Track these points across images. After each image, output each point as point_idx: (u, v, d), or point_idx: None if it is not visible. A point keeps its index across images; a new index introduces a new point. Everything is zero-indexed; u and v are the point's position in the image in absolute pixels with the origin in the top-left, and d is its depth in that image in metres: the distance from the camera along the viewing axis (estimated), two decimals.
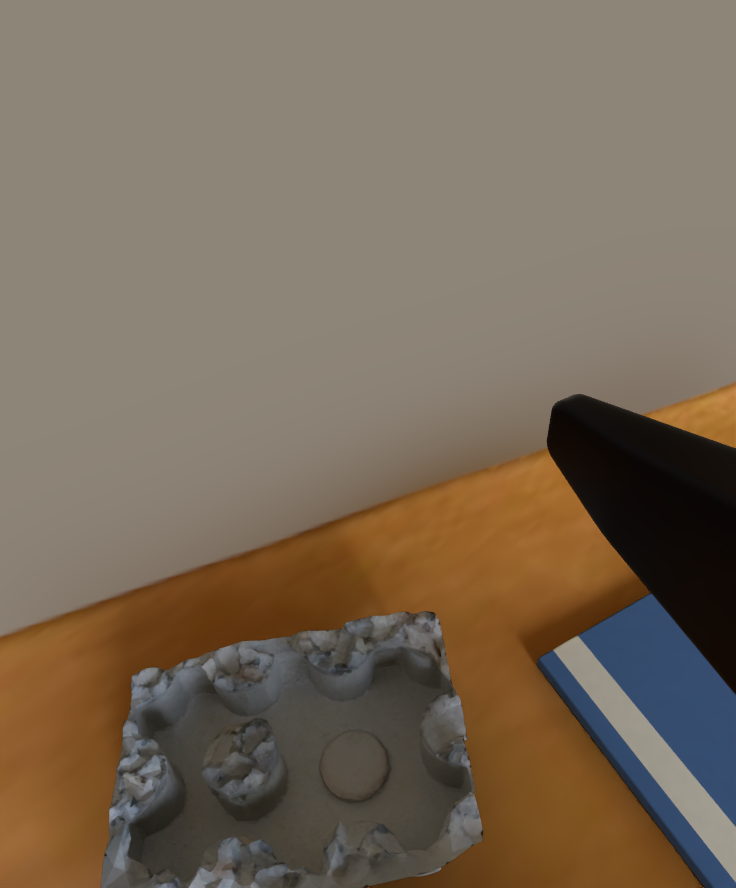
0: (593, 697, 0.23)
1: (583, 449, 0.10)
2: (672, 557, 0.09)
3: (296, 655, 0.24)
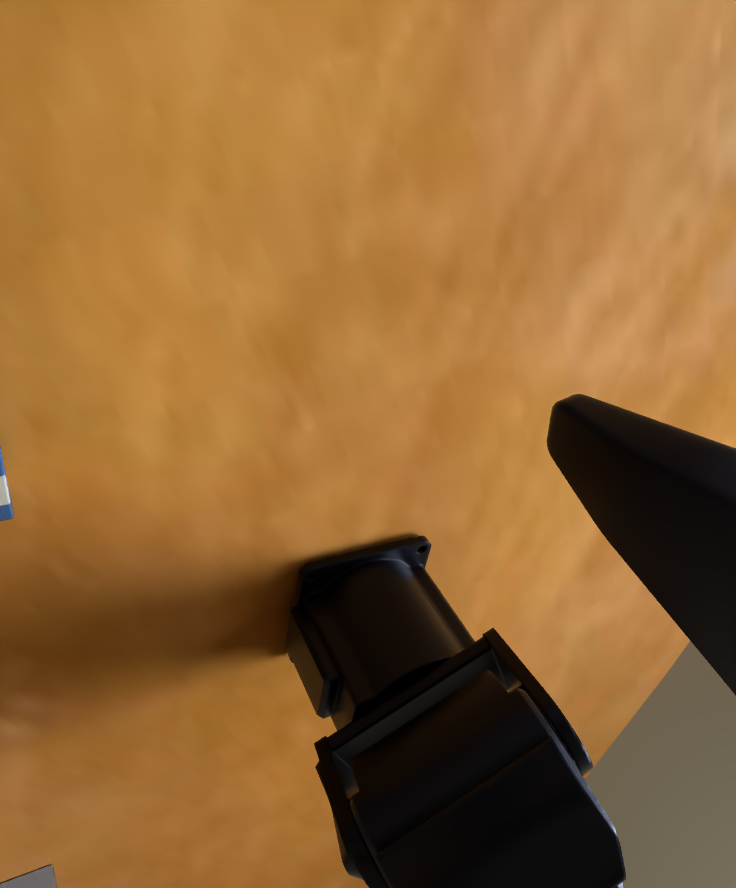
0: None
1: (583, 449, 0.10)
2: (672, 557, 0.09)
3: None
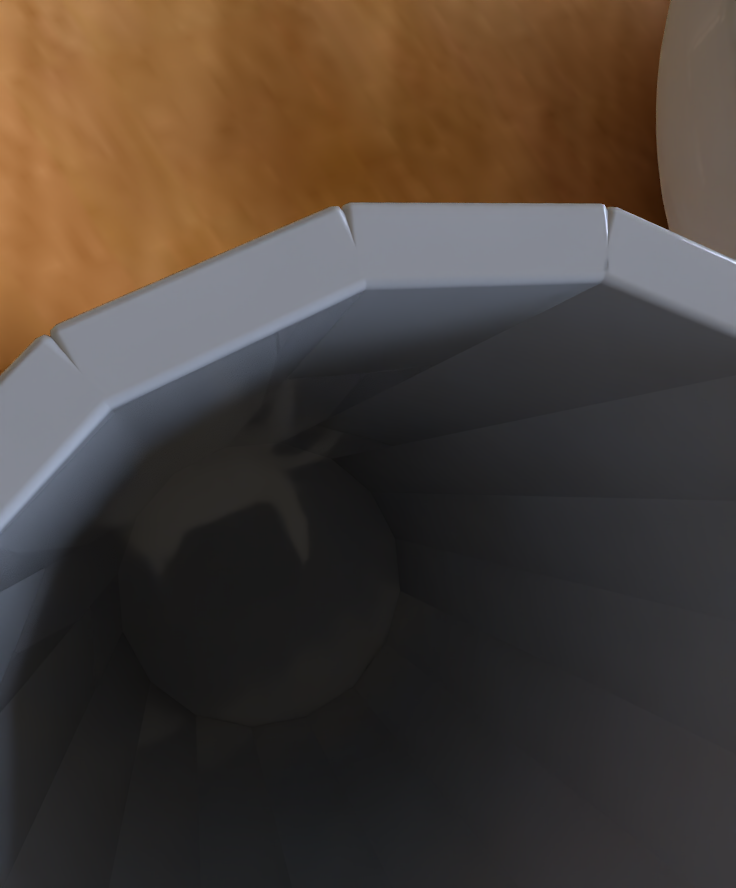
0: None
1: None
2: None
3: None
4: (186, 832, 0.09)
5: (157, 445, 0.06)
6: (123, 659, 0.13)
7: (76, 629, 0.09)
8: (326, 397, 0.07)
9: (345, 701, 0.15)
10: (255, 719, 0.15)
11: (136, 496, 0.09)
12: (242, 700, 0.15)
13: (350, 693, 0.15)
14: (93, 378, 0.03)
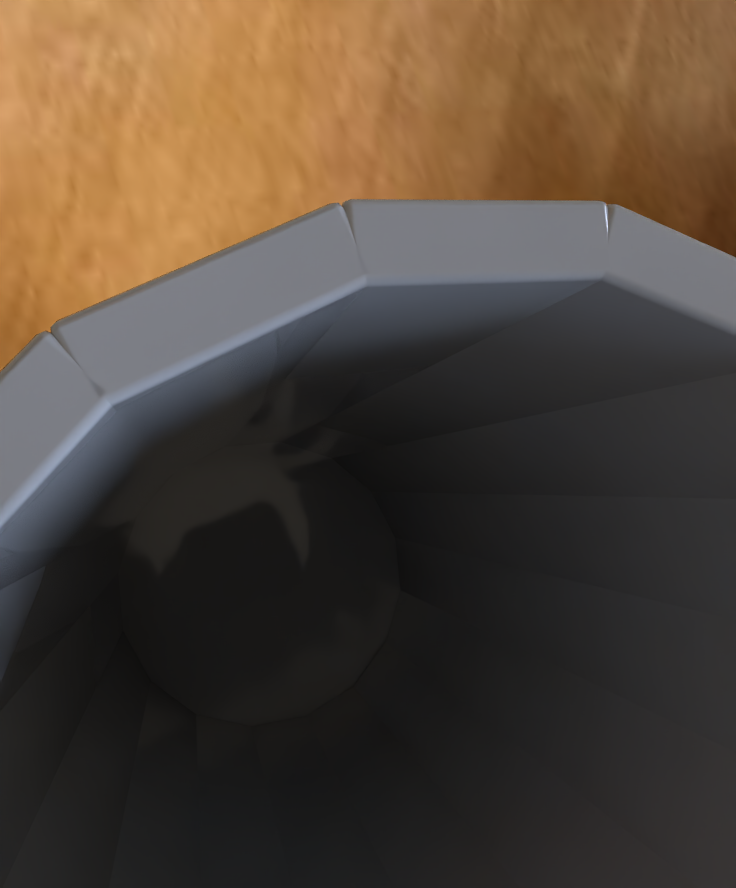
0: None
1: None
2: None
3: None
4: (186, 831, 0.09)
5: (157, 443, 0.06)
6: (123, 658, 0.13)
7: (76, 628, 0.09)
8: (326, 396, 0.07)
9: (345, 701, 0.15)
10: (255, 718, 0.15)
11: (136, 495, 0.09)
12: (242, 699, 0.15)
13: (350, 693, 0.15)
14: (94, 374, 0.03)
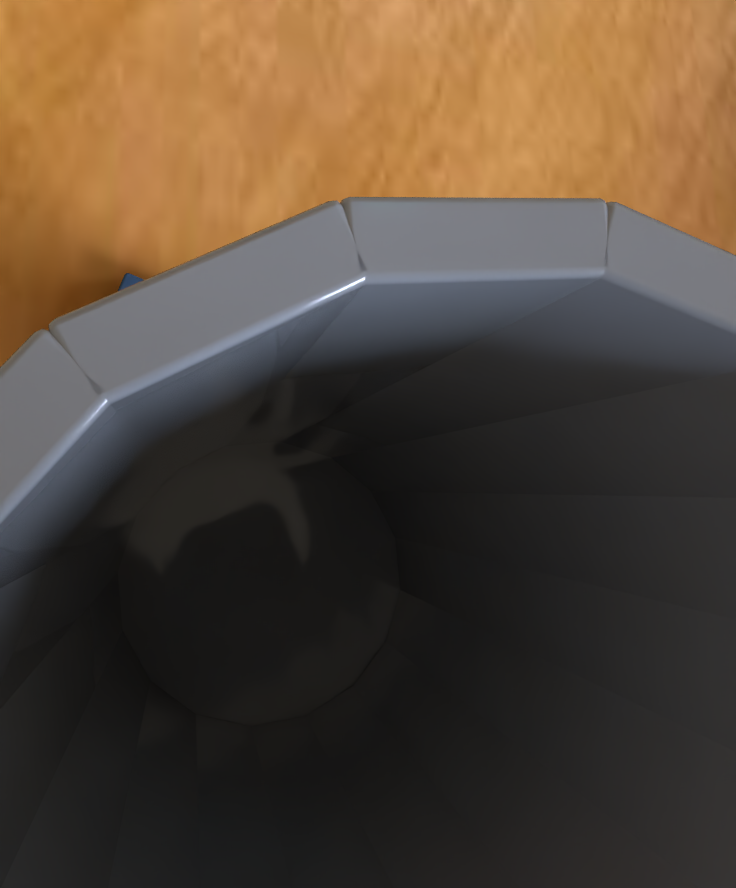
0: None
1: None
2: None
3: None
4: (186, 830, 0.09)
5: (156, 442, 0.06)
6: (123, 658, 0.13)
7: (76, 627, 0.09)
8: (326, 395, 0.07)
9: (345, 700, 0.15)
10: (255, 718, 0.15)
11: (136, 494, 0.09)
12: (241, 699, 0.15)
13: (349, 692, 0.15)
14: (91, 372, 0.03)
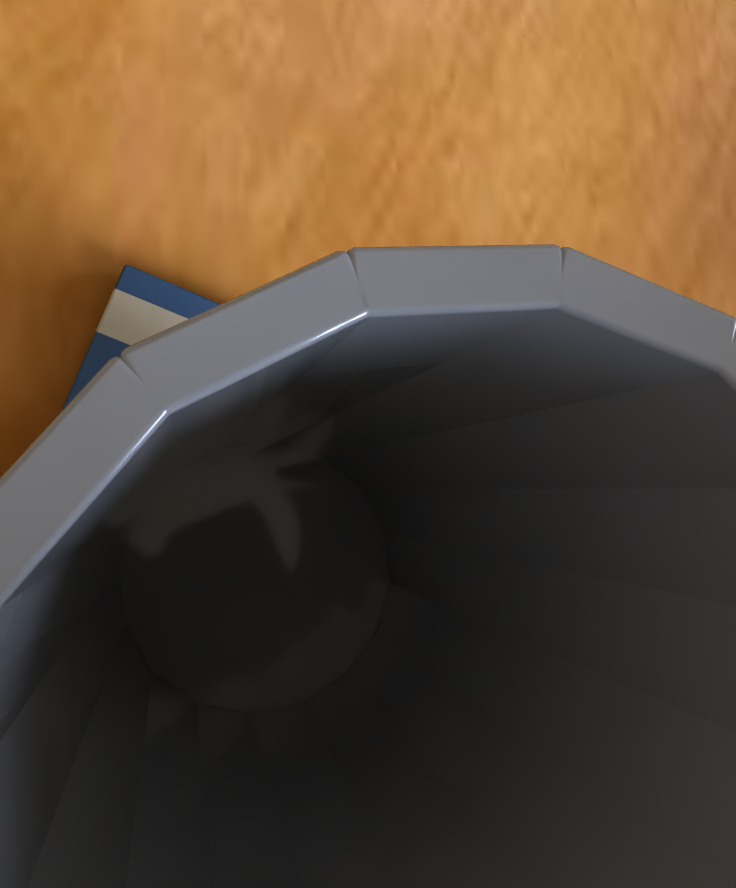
0: None
1: None
2: None
3: None
4: (194, 804, 0.10)
5: (177, 444, 0.06)
6: (128, 649, 0.14)
7: (91, 617, 0.10)
8: (324, 400, 0.08)
9: (339, 688, 0.16)
10: (253, 706, 0.15)
11: (147, 492, 0.10)
12: (240, 688, 0.15)
13: (343, 680, 0.16)
14: (156, 390, 0.03)
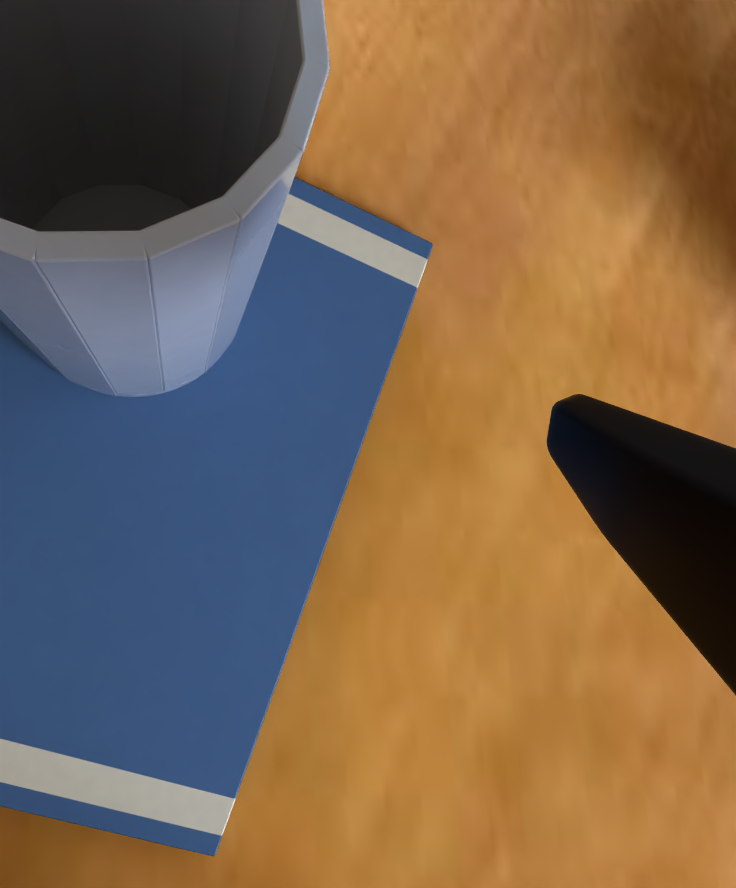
0: None
1: (583, 449, 0.10)
2: (672, 557, 0.09)
3: None
4: None
5: None
6: None
7: None
8: None
9: None
10: None
11: None
12: None
13: None
14: None
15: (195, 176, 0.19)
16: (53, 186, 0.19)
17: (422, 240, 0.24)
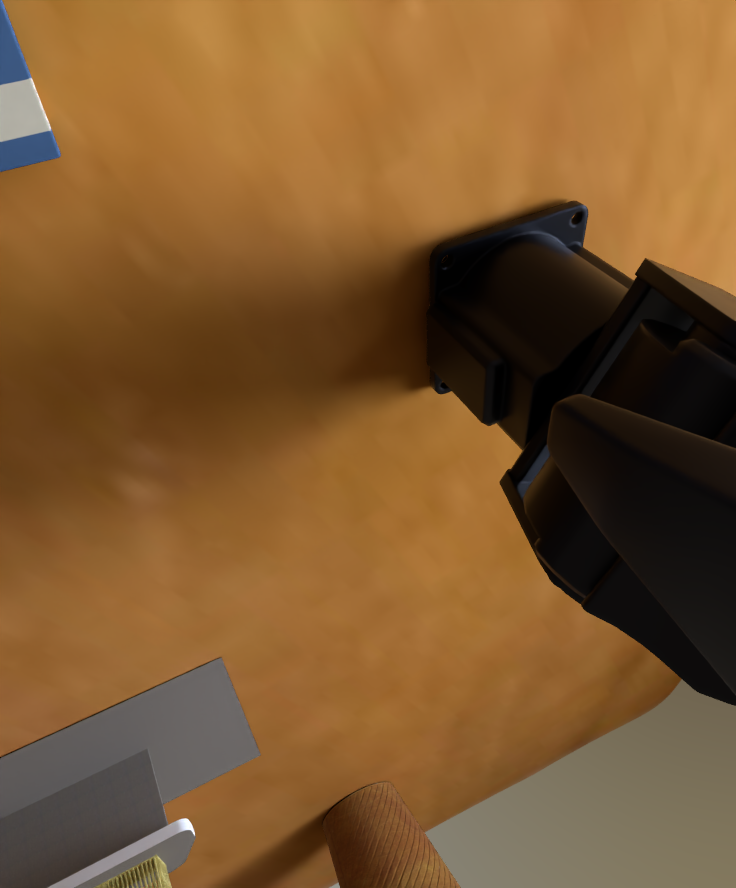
0: None
1: (583, 449, 0.10)
2: (672, 557, 0.09)
3: None
4: None
5: None
6: None
7: None
8: None
9: None
10: None
11: None
12: None
13: None
14: None
15: None
16: None
17: None
